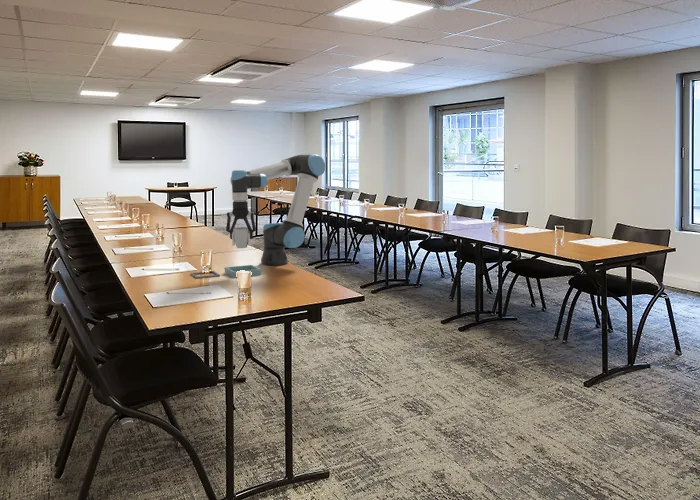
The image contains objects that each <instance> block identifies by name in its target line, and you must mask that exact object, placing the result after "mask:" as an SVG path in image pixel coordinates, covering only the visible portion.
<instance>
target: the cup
mask: <svg viewBox="0 0 700 500" xmlns="http://www.w3.org/2000/svg"><path fill="white" fill-rule="evenodd" d="M233 233H234V240H235V247H236V249H246V248H248V246H249V244H248V233H249V230H248V228H247V226H246V227H242V226H241V227H235V228H234V229H233Z"/></svg>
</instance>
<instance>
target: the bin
mask: <svg viewBox="0 0 700 500" xmlns="http://www.w3.org/2000/svg"><path fill="white" fill-rule="evenodd" d="M240 270H245V271H251V272H252V276H251V277H254V276H255V277H256V276H262V269H261V268H259V267H257V266H255V265H253V264H248V265H247V264H246V265H245V264H244V265H238V266H236V265H235V266H225V267H224V274H226V275H227V276H230V277H231V278H233V279H234V278H237V277H236V272H237V271H240Z"/></svg>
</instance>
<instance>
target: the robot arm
mask: <svg viewBox="0 0 700 500" xmlns="http://www.w3.org/2000/svg"><path fill="white" fill-rule="evenodd" d="M325 171H326V163H325V160H324V158H323V157H322V156H321V155H319V154H314V153H312V154H297V155H293V156H291V157H288V158H285V159H282V160H281V161H280V162H277V163H273V164H270V165H267V166H265V165H264V166H263V167H260V168H259V167H258V168H255V169H251V170H246V169H245V170H243V169H242V170H240V169H239V170H238V169H237V170H236V169H235V170H232V171H231V177H230V184H231V191H232V193H231V194H232V196H231V197H232V198H231V199H232V211H228V212H227V213H226V216H227V219H226V229H225V230H226V231H225V232H228V233H229V238H230V240H231V242H232V243H231V245H232V246H233V247H234V246H236V244H235V240H234V233H233V229H234V228H236V224H237V222H238V220H243V221H244V223H245V225H246V227H247V228H248V230H249V233H248V247H250V246H252V239H253V236H254V235H253V233H255V232H256V231H257V226H256V221H255V212H254V211H249V205H248V204H249V203H248V202H249V201H248V197H249V196H248V189H263V188H265V187H267V184H268V181H269V180H273V179H277V178H281V177H283V176H285V177H291V176H297V177H298V181H297V184H296V187H295V189H294V190H295V191H294V194H293V198H292V201H291V204H290V207H289V210H288V214H287V217H286V218H285V219H283V221H282V222H273V223H266V224H265V223H264V225H263V228H262V233H263V252H262V256H261V259H260V264H261V265H265V266H282V265H287V264H288V262H289V260H288V256H287V252H286V250H285V248H289V249H297V248H298V247H300V246H301V245H302V244H303V243H304V241H305V237H306V236H305V231H304V224H303V220H304V216H305V213H306V210H307V206H308V204H309V200H310V197H311V193H312V191H313V187H314V184H315V183H316V182H317V181H318V179H319V177H320V176H322V175H324V173H325ZM248 215H249V217H250V222H249V219H248ZM232 216H233V217H234V219H233V220H232ZM231 221H233V222H232V224H231ZM250 223H251V225H250Z"/></svg>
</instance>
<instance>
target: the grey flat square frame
mask: <svg viewBox="0 0 700 500" xmlns="http://www.w3.org/2000/svg"><path fill="white" fill-rule="evenodd" d="M210 271H211V273H210V275H209V274H208V275H202V272H203V271H199V272H190V275H191V276H192V277H193V278H195V279H205V278H217V277H220V276H221V274H219V273H218V272H216V271H215V270H210ZM200 275H201V276H200Z"/></svg>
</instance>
